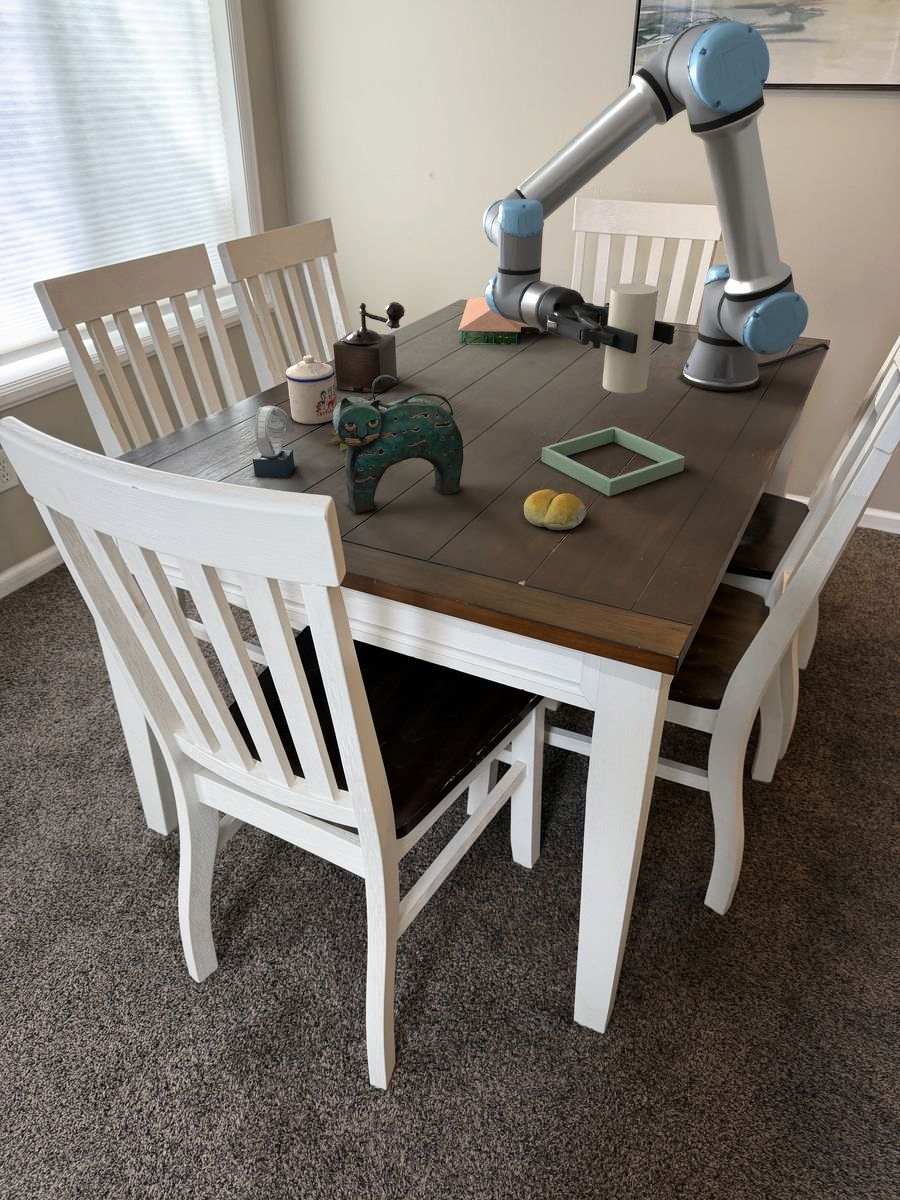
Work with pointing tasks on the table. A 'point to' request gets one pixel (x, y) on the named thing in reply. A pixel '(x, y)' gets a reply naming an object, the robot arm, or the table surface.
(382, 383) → the manual coffee grinder
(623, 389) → the pillar candle
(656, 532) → the table surface
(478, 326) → the house
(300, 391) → the teacup with lid
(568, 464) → the green square frame
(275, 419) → the watch
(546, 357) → the table surface
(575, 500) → the bread roll
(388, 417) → the ceramic cat
